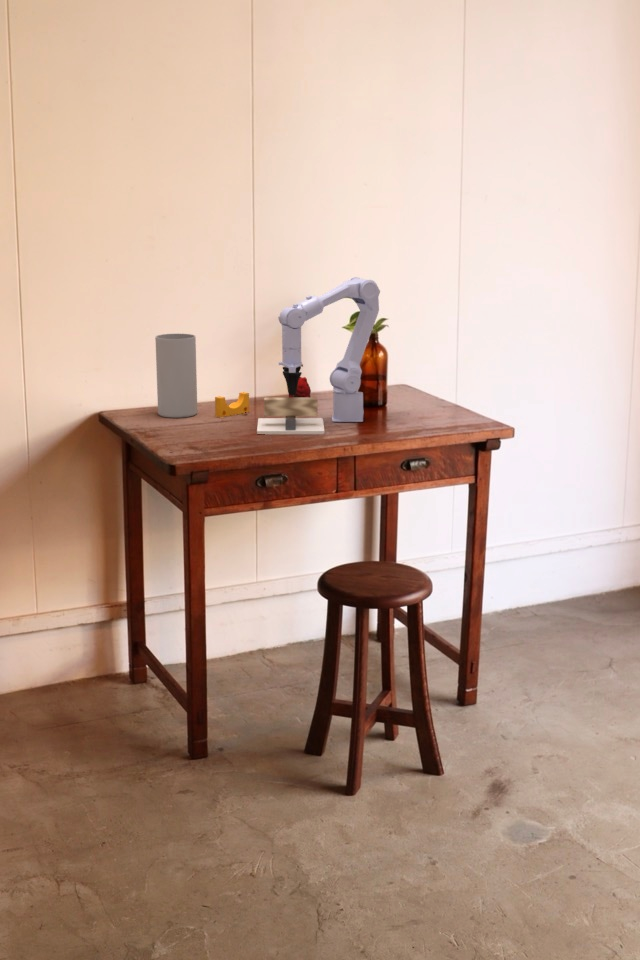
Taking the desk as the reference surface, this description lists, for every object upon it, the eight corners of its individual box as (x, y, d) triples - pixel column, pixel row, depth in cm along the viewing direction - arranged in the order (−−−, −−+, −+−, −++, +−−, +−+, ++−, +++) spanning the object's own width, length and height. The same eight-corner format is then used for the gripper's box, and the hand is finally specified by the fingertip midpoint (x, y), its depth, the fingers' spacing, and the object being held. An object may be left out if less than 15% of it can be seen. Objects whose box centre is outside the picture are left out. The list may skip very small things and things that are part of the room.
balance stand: (322, 421, 360) (322, 408, 359) (324, 434, 343) (324, 421, 342) (258, 421, 360) (258, 408, 359) (256, 434, 342) (256, 421, 341)
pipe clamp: (240, 410, 376) (240, 391, 374) (249, 412, 373) (249, 393, 371) (211, 416, 368) (211, 396, 366) (220, 418, 365) (220, 398, 363)
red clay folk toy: (313, 401, 390) (313, 357, 386) (305, 405, 383) (305, 360, 380) (293, 400, 393) (292, 356, 389) (284, 403, 386) (284, 359, 382)
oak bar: (317, 413, 352) (317, 397, 351) (317, 415, 349) (317, 399, 347) (264, 413, 352) (264, 397, 350) (264, 416, 348) (264, 399, 347)
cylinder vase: (197, 409, 376) (195, 333, 370) (197, 418, 364) (195, 338, 358) (158, 410, 375) (155, 333, 368) (157, 418, 363) (155, 339, 356)
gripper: (278, 344, 355) (278, 387, 358) (278, 351, 341) (279, 397, 344) (301, 344, 355) (301, 387, 359) (302, 351, 341) (302, 396, 345)
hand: (292, 392), depth 351 cm, fingers open, 7 cm apart
